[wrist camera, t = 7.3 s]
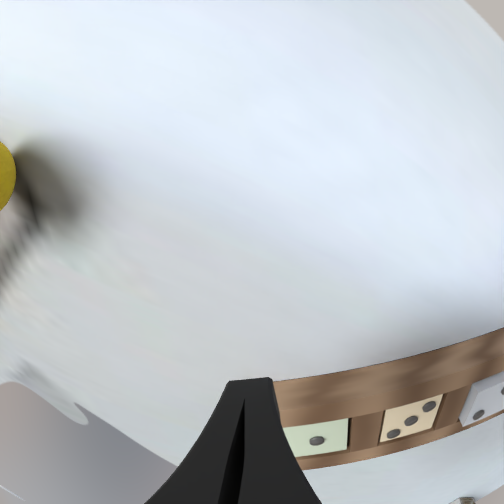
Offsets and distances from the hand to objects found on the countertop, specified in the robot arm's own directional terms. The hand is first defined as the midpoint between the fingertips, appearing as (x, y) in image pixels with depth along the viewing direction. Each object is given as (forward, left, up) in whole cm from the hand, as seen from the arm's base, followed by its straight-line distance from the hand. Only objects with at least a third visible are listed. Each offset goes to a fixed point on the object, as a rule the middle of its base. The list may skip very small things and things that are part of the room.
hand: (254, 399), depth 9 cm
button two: (-18, +15, -9) cm, 25 cm away
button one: (-2, +15, -10) cm, 18 cm away
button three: (-10, +15, -10) cm, 21 cm away
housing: (-10, +15, -10) cm, 21 cm away
